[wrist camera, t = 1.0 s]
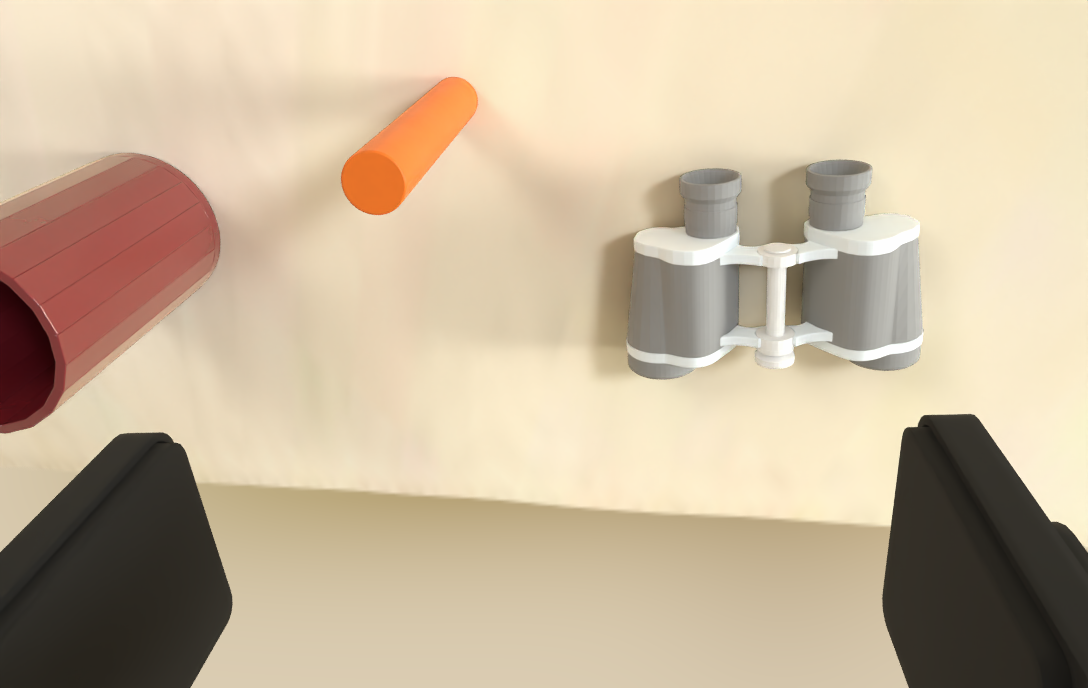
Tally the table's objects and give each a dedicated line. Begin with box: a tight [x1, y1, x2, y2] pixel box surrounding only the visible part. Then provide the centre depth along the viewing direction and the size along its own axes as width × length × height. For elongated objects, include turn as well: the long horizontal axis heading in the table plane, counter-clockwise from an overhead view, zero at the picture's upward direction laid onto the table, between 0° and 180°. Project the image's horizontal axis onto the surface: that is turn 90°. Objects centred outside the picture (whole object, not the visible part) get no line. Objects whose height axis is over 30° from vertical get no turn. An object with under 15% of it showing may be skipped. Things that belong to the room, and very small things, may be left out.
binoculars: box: [626, 160, 924, 379], centre depth 34 cm, size 12×8×4 cm, turn 95°
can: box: [0, 153, 220, 433], centre depth 32 cm, size 7×7×12 cm
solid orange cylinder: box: [341, 77, 478, 215], centre depth 28 cm, size 2×2×12 cm
